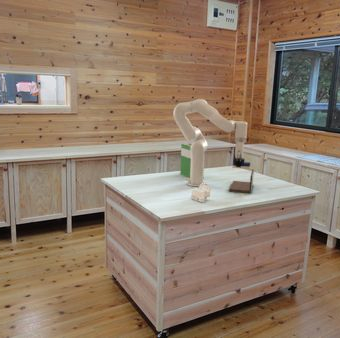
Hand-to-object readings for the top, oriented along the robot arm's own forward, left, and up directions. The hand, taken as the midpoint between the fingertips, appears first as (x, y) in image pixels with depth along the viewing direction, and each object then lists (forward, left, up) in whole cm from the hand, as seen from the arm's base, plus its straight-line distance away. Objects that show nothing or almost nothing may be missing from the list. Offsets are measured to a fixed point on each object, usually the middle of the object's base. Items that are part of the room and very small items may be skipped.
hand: (238, 165), depth 259 cm
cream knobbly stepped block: (-19, -33, -17) cm, 41 cm away
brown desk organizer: (+3, +3, -17) cm, 17 cm away
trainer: (+2, 0, -1) cm, 2 cm away
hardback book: (-39, +27, -17) cm, 51 cm away
